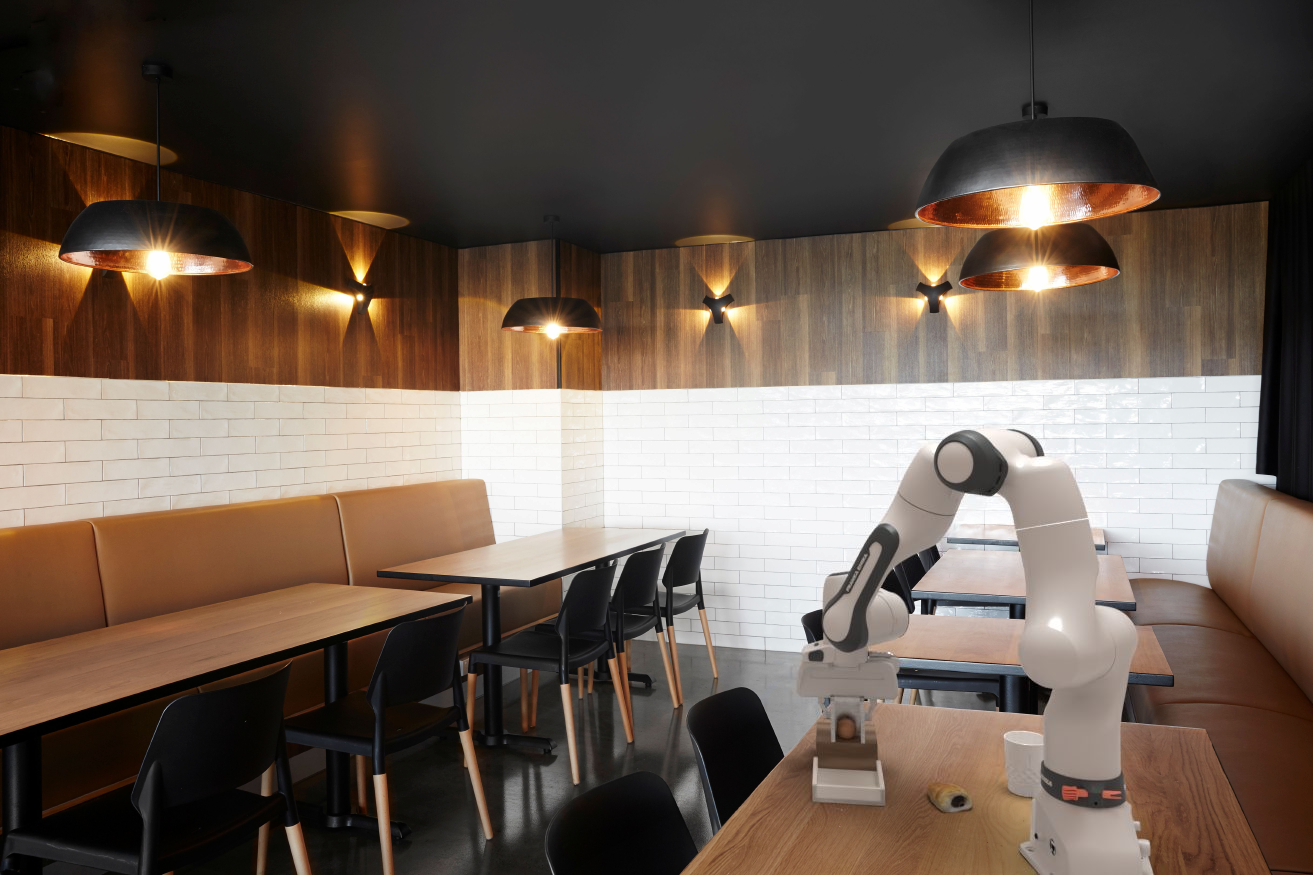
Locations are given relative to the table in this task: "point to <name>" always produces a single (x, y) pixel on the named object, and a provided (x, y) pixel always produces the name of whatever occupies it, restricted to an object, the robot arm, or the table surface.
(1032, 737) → the white cup
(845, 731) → the ball
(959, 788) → the pastry
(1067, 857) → the robot arm
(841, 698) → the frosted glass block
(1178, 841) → the table surface
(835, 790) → the tray
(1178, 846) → the table surface
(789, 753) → the table surface
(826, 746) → the step block
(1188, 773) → the table surface
